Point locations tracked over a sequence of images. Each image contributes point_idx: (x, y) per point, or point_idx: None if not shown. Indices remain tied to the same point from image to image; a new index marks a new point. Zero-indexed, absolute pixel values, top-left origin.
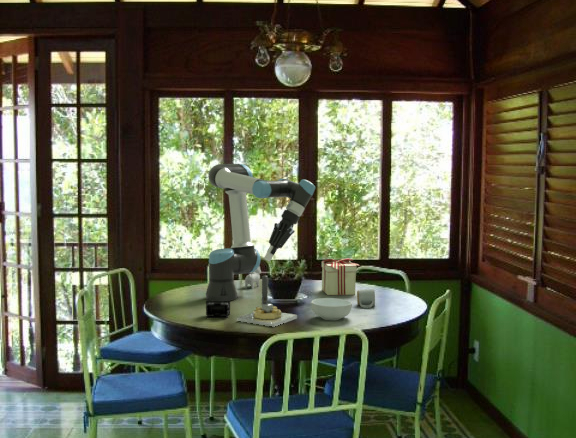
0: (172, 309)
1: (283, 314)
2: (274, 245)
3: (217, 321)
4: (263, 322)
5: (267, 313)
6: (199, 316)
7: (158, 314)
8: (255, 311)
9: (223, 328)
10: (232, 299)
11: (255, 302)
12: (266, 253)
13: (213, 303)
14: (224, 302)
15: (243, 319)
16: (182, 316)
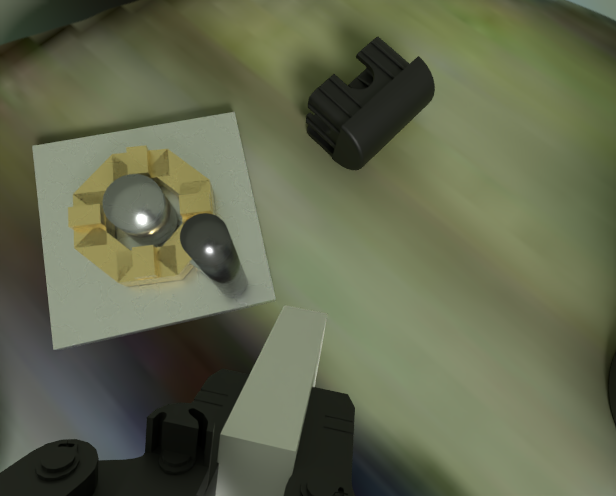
0: (592, 91)
1: (116, 304)
2: (152, 437)
3: (296, 74)
4: (92, 137)
5: (107, 177)
6: None
7: (544, 9)
8: (184, 168)
9: (191, 19)
10: (613, 408)
11: (496, 469)
12: (316, 348)
13: (373, 66)
14: (356, 112)
15: (199, 118)
16: (458, 42)
